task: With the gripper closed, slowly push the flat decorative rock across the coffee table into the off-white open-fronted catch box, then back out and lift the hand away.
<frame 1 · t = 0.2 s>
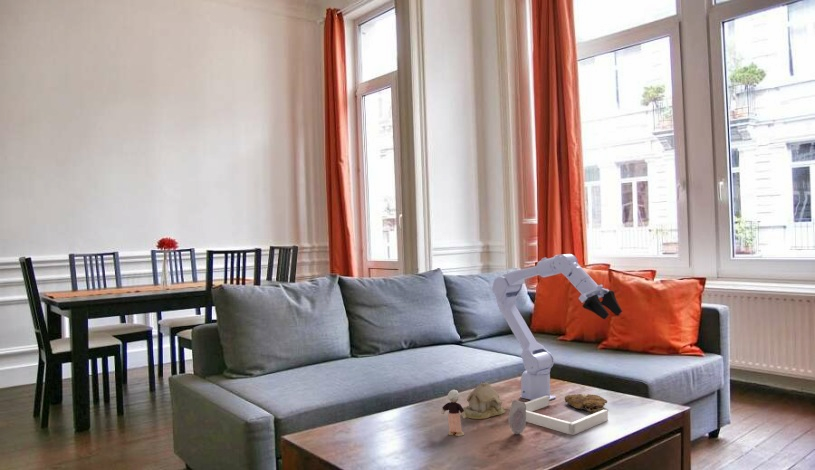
hand: (613, 315, 183), 31 cm above the table, tool tilted 45°, fingers open, 7 cm apart
decorative rock: (588, 408, 193), on the table
fossil: (516, 435, 170), on the table
ceramic model: (483, 414, 190), on the table
grandmother figurine: (454, 434, 172), on the table
catch box: (558, 418, 183), on the table
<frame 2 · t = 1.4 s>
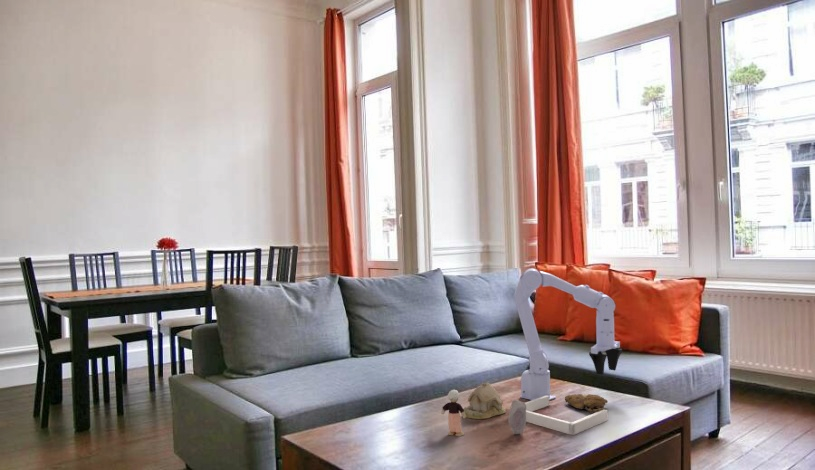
hand: (606, 371, 200), 9 cm above the table, tool pointing down, fingers open, 7 cm apart
nothing on the table moved.
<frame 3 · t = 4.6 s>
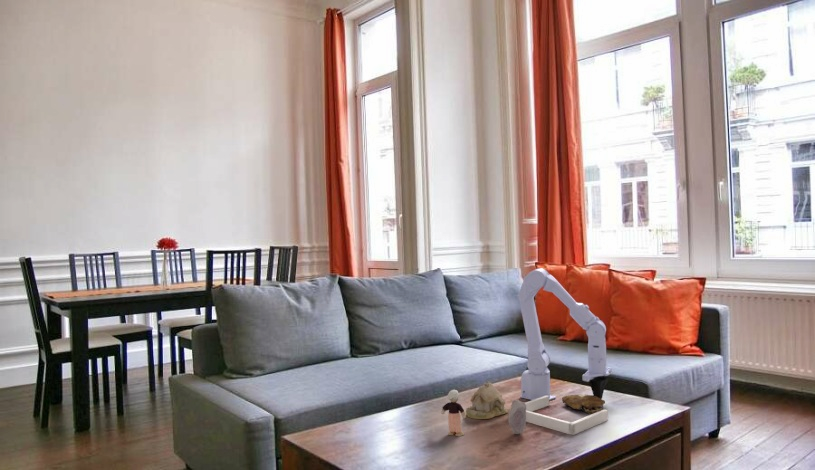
hand: (598, 399, 197), 1 cm above the table, tool pointing down, fingers closed
decorative rock: (586, 409, 192), on the table, touching gripper
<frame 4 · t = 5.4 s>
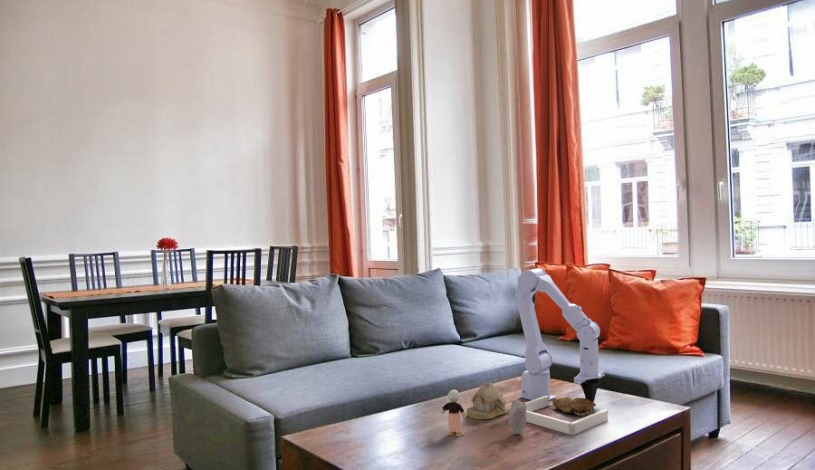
hand: (590, 402, 194), 1 cm above the table, tool pointing down, fingers closed
decorative rock: (576, 412, 189), on the table, touching gripper
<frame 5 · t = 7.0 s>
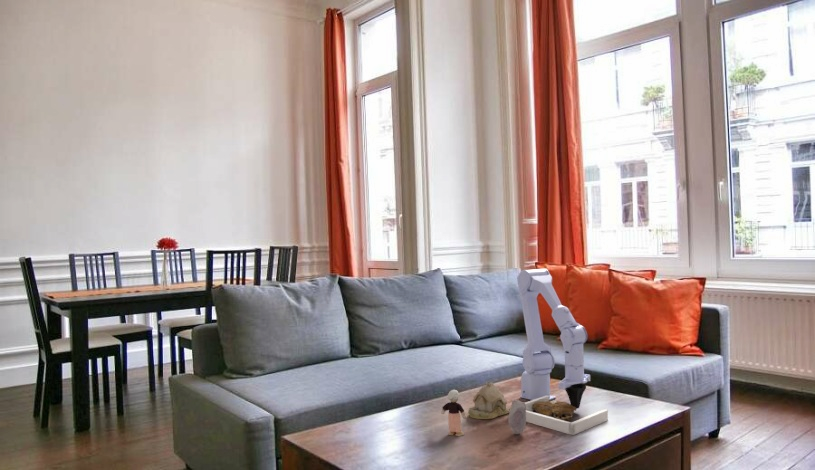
hand: (575, 407, 188), 1 cm above the table, tool pointing down, fingers closed
decorative rock: (557, 416, 186), on the table, touching gripper
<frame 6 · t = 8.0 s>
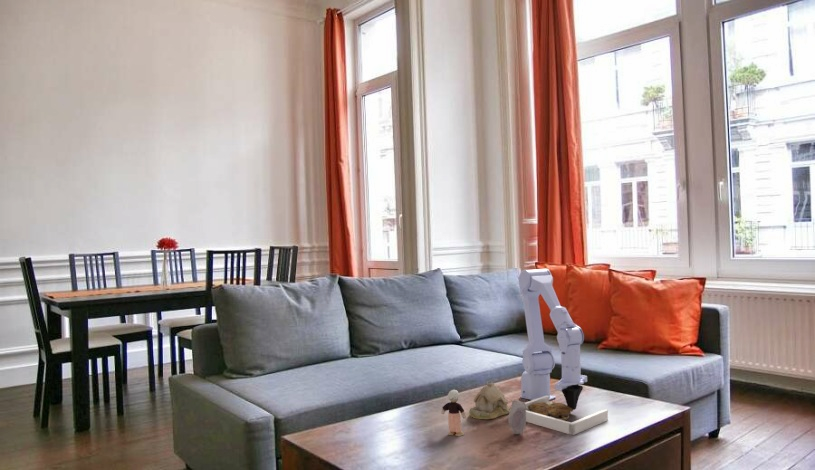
hand: (571, 408, 187), 1 cm above the table, tool pointing down, fingers closed
decorative rock: (553, 417, 185), on the table
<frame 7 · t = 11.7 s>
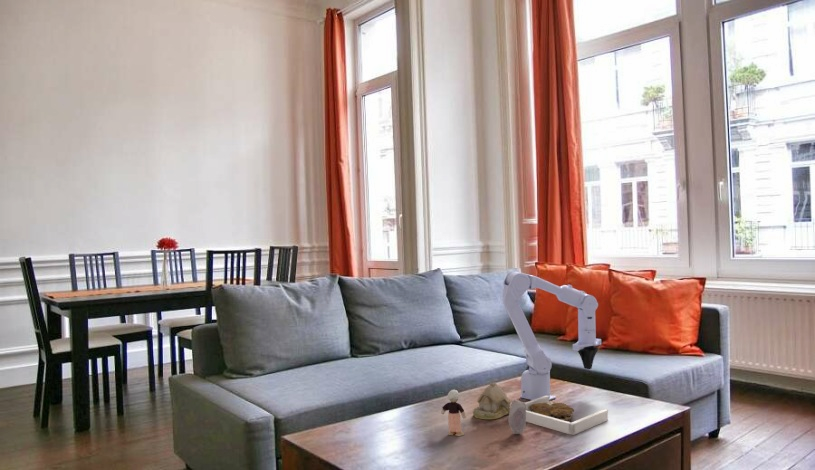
hand: (587, 368, 205), 9 cm above the table, tool pointing down, fingers closed
at the end: decorative rock inside the target area (2.7 cm from its centre), on the table; decorative rock moved 15.2 cm from its start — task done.
